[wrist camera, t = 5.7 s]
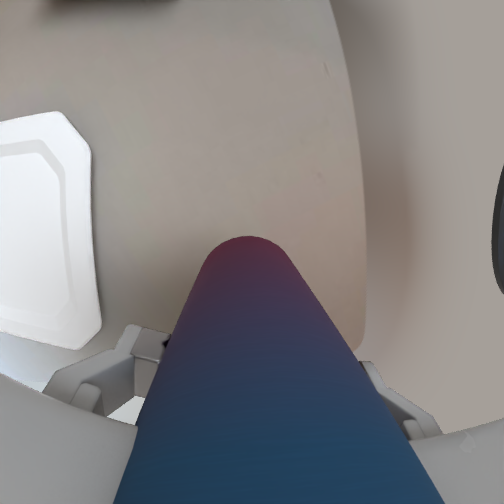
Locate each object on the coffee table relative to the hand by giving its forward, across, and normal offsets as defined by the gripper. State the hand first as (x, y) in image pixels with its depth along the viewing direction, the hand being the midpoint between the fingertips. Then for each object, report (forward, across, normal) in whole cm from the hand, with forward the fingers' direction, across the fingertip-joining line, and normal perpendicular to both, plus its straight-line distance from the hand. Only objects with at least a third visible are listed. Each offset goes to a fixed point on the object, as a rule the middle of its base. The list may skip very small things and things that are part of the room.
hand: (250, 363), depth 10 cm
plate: (+18, +26, +5) cm, 31 cm away
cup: (+6, 0, 0) cm, 6 cm away
